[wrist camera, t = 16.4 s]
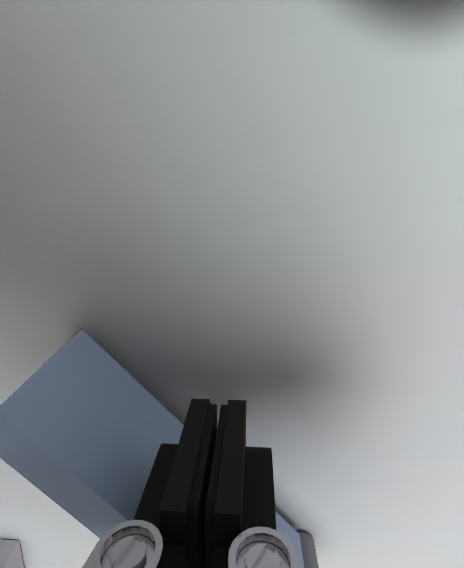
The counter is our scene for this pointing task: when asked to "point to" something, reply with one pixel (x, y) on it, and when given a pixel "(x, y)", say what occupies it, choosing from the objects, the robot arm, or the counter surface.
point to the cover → (95, 438)
